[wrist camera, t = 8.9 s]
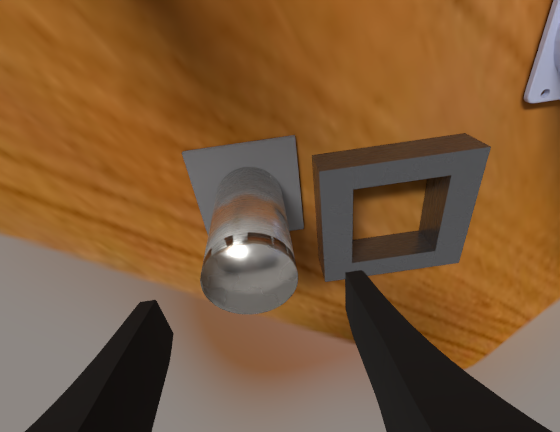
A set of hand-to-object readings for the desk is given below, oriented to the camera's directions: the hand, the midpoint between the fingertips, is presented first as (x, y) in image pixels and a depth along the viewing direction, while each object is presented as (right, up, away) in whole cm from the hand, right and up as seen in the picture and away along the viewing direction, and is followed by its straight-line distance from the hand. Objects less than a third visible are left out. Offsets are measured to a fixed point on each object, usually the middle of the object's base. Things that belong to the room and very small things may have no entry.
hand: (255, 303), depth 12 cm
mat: (-1, +5, +9) cm, 10 cm away
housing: (+9, +4, +10) cm, 14 cm away
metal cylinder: (-1, +5, +9) cm, 10 cm away
